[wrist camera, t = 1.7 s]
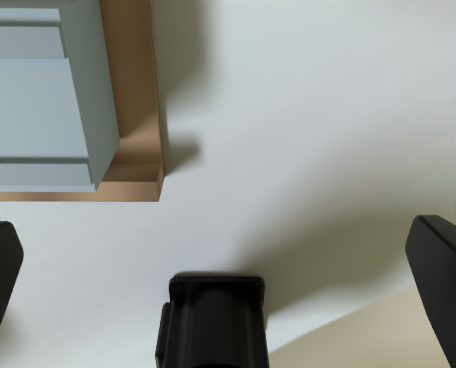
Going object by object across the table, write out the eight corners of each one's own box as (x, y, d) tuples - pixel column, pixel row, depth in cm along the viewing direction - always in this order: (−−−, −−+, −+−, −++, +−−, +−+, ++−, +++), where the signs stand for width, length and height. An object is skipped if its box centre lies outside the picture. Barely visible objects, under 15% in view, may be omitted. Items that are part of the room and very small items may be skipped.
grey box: (97, -7, 16) (54, 10, 12) (120, 143, 20) (93, 195, 16) (-71, -9, 16) (-175, 7, 12) (-16, 142, 20) (-80, 195, 15)
